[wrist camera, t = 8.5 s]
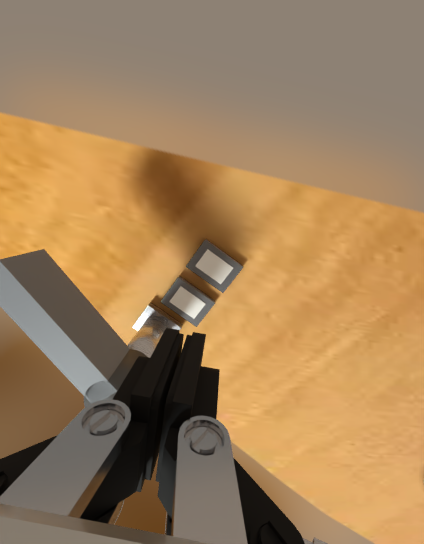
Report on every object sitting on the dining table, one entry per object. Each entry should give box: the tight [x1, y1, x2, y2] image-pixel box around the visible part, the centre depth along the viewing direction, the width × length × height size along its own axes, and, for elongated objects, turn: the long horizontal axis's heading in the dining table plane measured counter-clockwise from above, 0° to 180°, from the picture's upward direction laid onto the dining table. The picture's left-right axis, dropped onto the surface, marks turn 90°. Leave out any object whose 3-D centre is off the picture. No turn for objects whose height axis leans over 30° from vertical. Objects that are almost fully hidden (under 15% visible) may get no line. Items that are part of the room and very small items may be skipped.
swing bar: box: [0, 249, 147, 407], centre depth 17 cm, size 3×12×4 cm, turn 36°
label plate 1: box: [186, 239, 243, 293], centre depth 25 cm, size 4×3×1 cm
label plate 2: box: [161, 276, 215, 327], centre depth 26 cm, size 4×3×1 cm
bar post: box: [128, 302, 183, 357], centre depth 24 cm, size 4×3×7 cm
